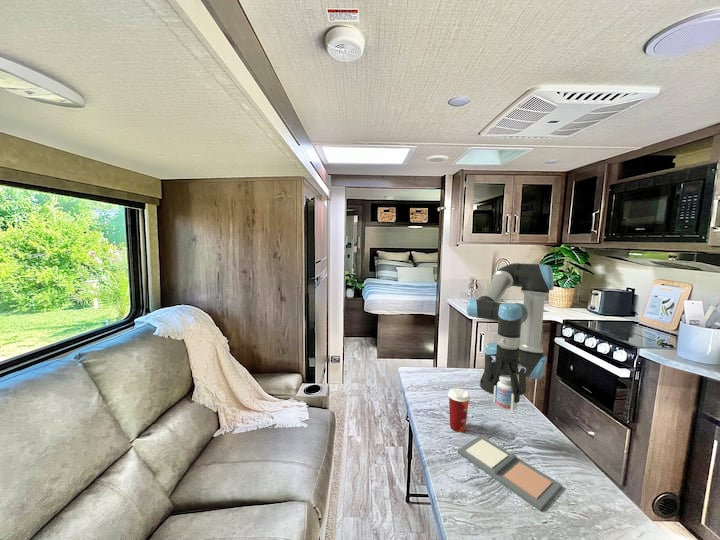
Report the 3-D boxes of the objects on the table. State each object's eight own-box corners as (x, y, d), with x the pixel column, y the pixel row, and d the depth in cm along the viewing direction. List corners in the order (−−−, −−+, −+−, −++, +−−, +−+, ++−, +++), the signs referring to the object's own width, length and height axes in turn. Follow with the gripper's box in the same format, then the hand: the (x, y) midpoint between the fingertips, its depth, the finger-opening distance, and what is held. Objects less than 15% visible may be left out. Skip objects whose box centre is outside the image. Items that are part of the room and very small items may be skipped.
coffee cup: (469, 435, 116) (471, 399, 115) (447, 432, 118) (449, 396, 116) (466, 422, 125) (468, 388, 123) (446, 419, 126) (447, 386, 124)
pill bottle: (493, 406, 111) (494, 377, 110) (499, 399, 116) (500, 372, 115) (511, 412, 107) (512, 383, 106) (516, 405, 112) (517, 377, 110)
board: (480, 437, 115) (480, 432, 115) (561, 487, 92) (562, 481, 92) (457, 452, 107) (457, 446, 107) (540, 511, 84) (540, 504, 84)
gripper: (478, 340, 114) (476, 397, 117) (530, 357, 99) (525, 421, 102) (489, 336, 119) (487, 391, 121) (540, 351, 103) (536, 414, 106)
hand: (504, 405), depth 111 cm, fingers closed on pill bottle, 6 cm apart
